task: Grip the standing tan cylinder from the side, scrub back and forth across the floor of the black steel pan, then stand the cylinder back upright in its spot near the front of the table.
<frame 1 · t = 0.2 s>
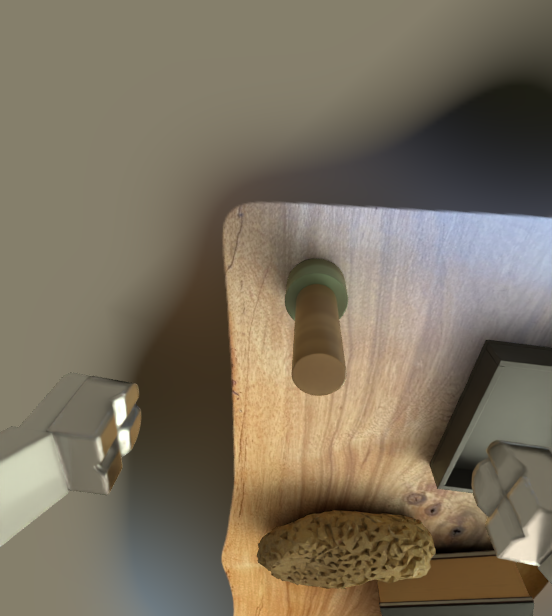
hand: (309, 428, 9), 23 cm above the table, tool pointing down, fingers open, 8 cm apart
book: (442, 592, 56), on the table
pan: (524, 417, 38), on the table
tan cylinder: (315, 285, 32), on the table
sponge: (338, 522, 49), on the table
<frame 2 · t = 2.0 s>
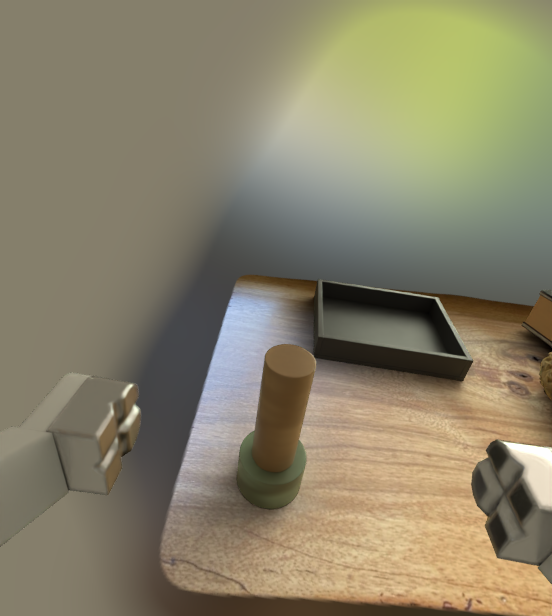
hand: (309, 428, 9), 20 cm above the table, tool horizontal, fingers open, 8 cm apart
pan: (379, 333, 49), on the table
tan cylinder: (268, 477, 29), on the table
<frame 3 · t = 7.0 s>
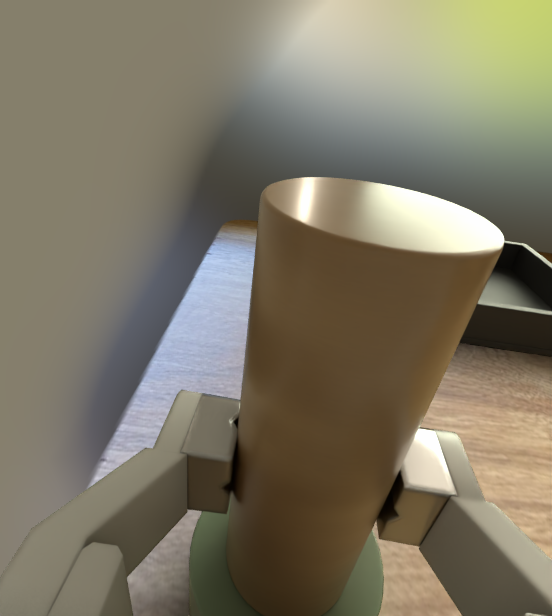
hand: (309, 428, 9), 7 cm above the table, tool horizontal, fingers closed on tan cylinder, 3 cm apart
pan: (445, 294, 31), on the table
tan cylinder: (274, 599, 11), on the table, touching gripper
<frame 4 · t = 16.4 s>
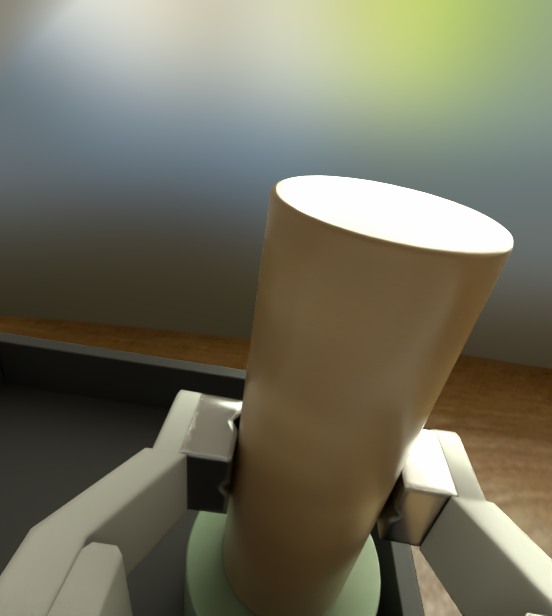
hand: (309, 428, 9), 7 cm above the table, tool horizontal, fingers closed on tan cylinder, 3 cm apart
pan: (113, 577, 12), on the table
tan cylinder: (269, 601, 11), point 1 cm above the table, touching gripper, pan
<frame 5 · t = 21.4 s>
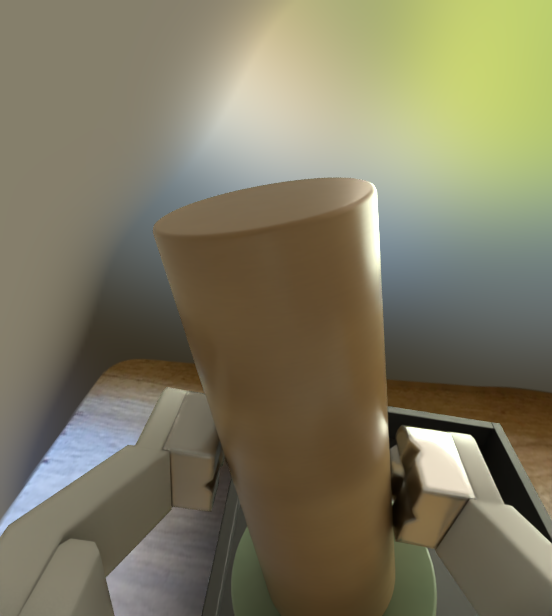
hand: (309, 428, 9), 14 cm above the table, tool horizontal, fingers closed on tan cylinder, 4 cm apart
pan: (377, 532, 21), on the table
when the fingers open (7 cm above the table, at t = 25.7 s): tan cylinder stays where it is, on the table.
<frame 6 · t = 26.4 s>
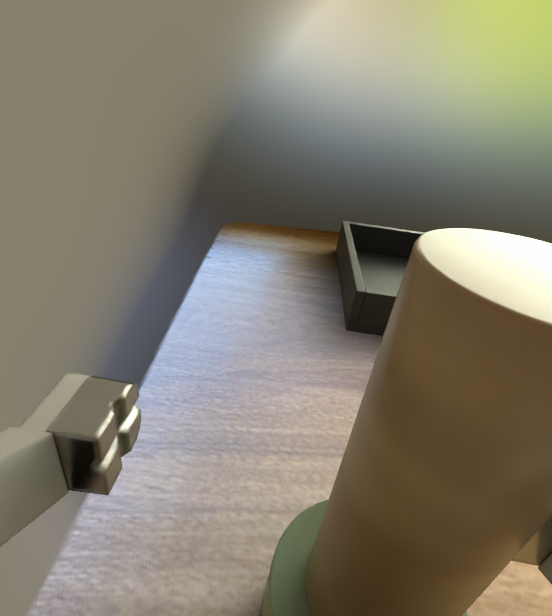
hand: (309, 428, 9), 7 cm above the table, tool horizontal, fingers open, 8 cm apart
pan: (443, 297, 31), on the table
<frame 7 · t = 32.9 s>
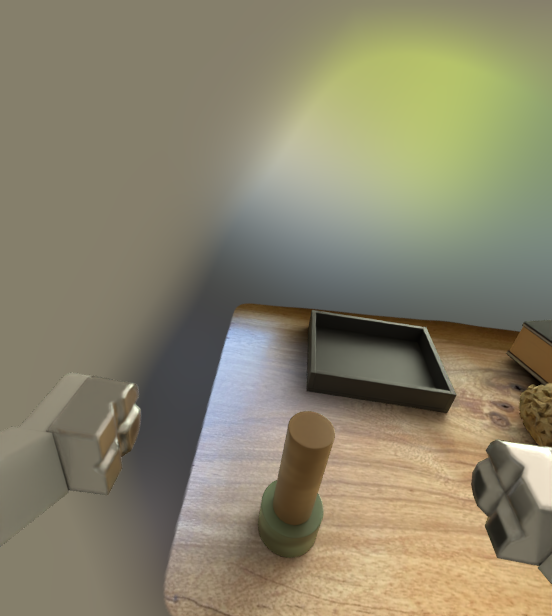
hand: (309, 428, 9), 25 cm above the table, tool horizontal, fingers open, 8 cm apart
pan: (369, 364, 51), on the table
tan cylinder: (287, 525, 32), on the table
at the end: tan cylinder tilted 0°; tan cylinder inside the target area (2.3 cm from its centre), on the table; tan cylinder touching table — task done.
